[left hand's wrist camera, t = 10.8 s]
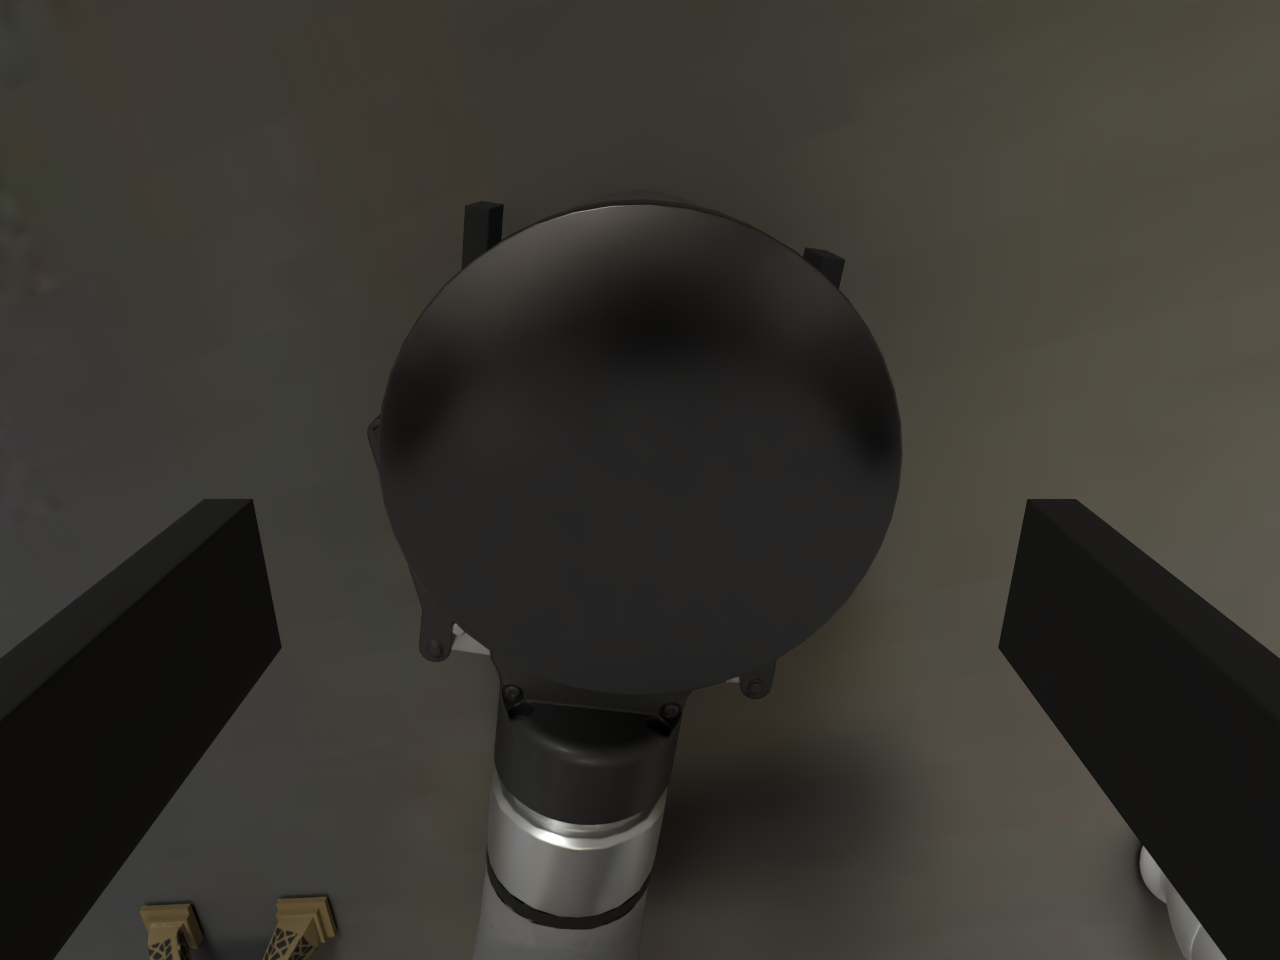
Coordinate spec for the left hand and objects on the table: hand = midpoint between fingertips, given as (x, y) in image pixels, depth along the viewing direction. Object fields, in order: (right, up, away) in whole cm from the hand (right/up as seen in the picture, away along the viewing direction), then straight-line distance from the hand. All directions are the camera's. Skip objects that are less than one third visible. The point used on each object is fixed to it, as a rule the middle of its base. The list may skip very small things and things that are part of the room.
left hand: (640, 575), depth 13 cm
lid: (0, +2, +4) cm, 4 cm away
